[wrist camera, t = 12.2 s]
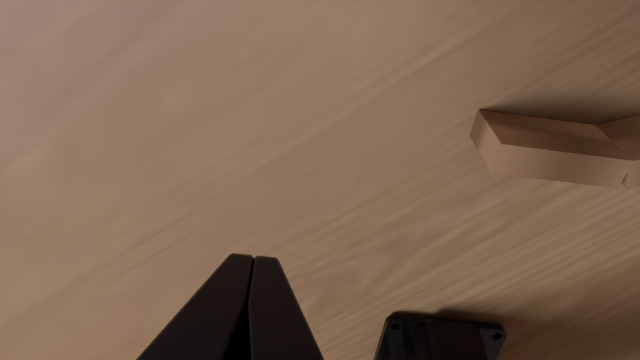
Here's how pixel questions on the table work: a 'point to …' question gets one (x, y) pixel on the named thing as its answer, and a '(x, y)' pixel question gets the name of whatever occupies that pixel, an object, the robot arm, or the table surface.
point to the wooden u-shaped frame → (560, 148)
